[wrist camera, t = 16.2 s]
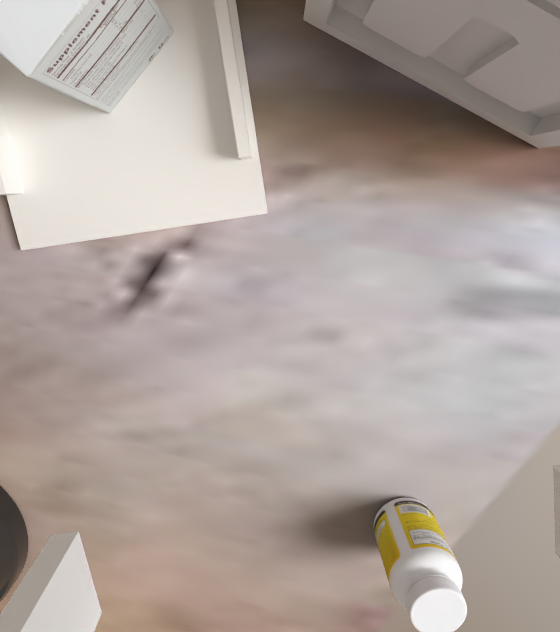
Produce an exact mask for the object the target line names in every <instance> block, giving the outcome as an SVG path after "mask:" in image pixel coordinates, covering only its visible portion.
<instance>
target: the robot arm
mask: <svg viewBox="0 0 560 632" xmlns="http://www.w3.org/2000/svg"><path fill="white" fill-rule="evenodd" d="M553 468H554V469H553V470H554V511H555V548H556V550H555V552H556V554H557V555H558V556H559V558H560V465H555V466H553ZM27 552H28V535H27V530H26V526H25V523H24V520H23V517H22V515H21V513H20V511H19V509H18V507H17V506H16V504H15V502H14V501H13V500H12V498H11V497H10V496H9V495H8V494H7V492H6V491H5V490H4V489H3V488H2V487H1V486H0V601H1V600H2V599H3V598H4V597H5V596H6V594H7V593H8V591H9V590H10V588H11V587H12V585H13V584H14V582H15V581H16V579H17V578H18V576H19V575H20V573H21V571H22V569H23V567H24V564H25V561H26V558H27ZM101 613H102V612H101V608H100V605H99V601H98V598H97V594H96V591H95V587H94V584H93V580H92V577H91V573H90V570H89V566H88V563H87V559H86V556H85V552H84V549H83V545H82V541H81V538H80V534H79V531H77V532H69V533H62V534H55V535H51V537H50V538H49V540H48V541H47V543H46V544H45V546H44V548H43V549H42V551H41V552H40V554H39V555H38V557H37V558H36V560H35V561H34V563H33V564H32V566H31V568H30V569H29V571H28V572H27V574H26V575H25V577H24V578H23V580H22V581H21V583H20V584H19V586H18V587H17V589H16V591H15V592H14V594H13V595H12V597H11V598H10V600H9V601H8V603H7V604H6V606H5V607H4V609H3V611H2V612H1V614H0V632H94V630H95V628H96V625H97V623H98V621H99V618H100V616H101Z"/></svg>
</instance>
